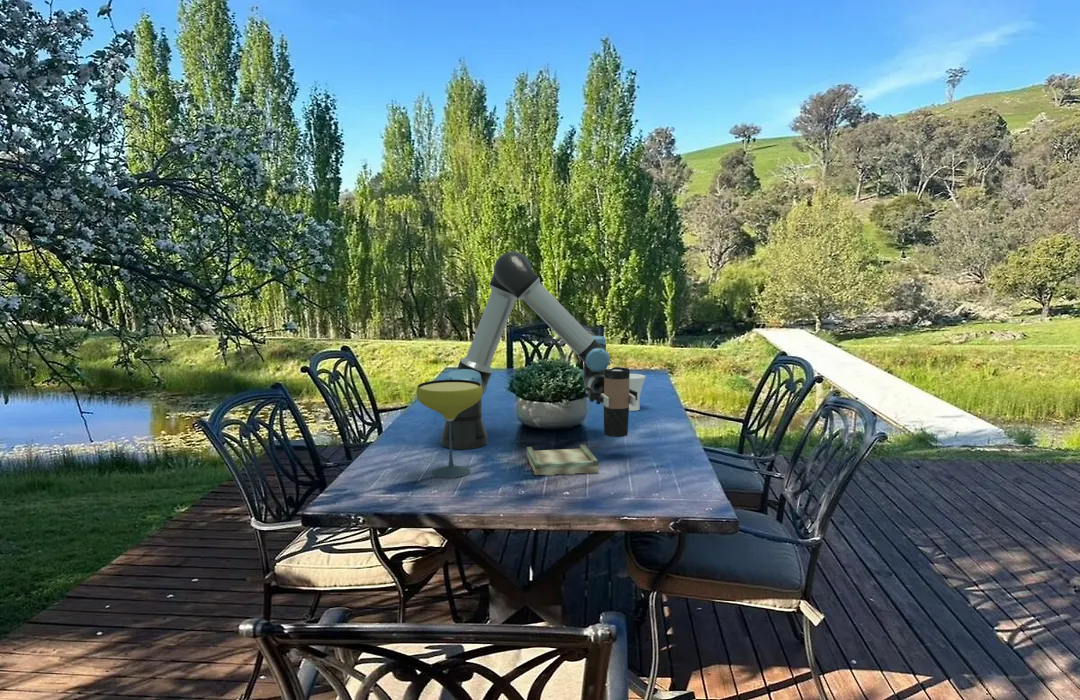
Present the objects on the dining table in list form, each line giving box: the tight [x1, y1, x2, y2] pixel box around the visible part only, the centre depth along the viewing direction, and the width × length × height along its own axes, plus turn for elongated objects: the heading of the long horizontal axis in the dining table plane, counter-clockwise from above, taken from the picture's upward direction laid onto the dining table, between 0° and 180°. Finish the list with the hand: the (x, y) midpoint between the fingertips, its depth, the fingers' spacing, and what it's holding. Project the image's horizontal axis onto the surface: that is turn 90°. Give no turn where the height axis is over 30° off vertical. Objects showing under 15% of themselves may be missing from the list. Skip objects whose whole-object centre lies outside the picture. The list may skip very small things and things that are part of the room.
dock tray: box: [526, 444, 600, 476], centre depth 201 cm, size 18×18×3 cm
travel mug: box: [603, 366, 631, 438], centre depth 207 cm, size 8×8×20 cm
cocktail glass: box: [416, 379, 483, 479], centre depth 193 cm, size 18×18×25 cm
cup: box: [629, 373, 646, 412], centre depth 273 cm, size 10×10×14 cm
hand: (620, 401), depth 203 cm, fingers closed on travel mug, 7 cm apart
